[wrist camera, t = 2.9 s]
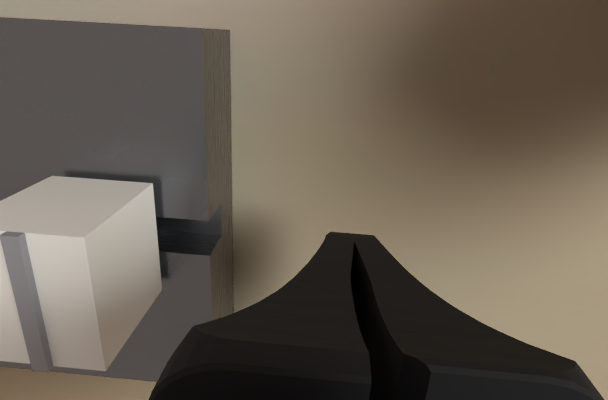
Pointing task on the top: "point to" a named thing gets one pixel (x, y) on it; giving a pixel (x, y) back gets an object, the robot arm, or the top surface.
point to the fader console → (131, 152)
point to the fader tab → (75, 270)
